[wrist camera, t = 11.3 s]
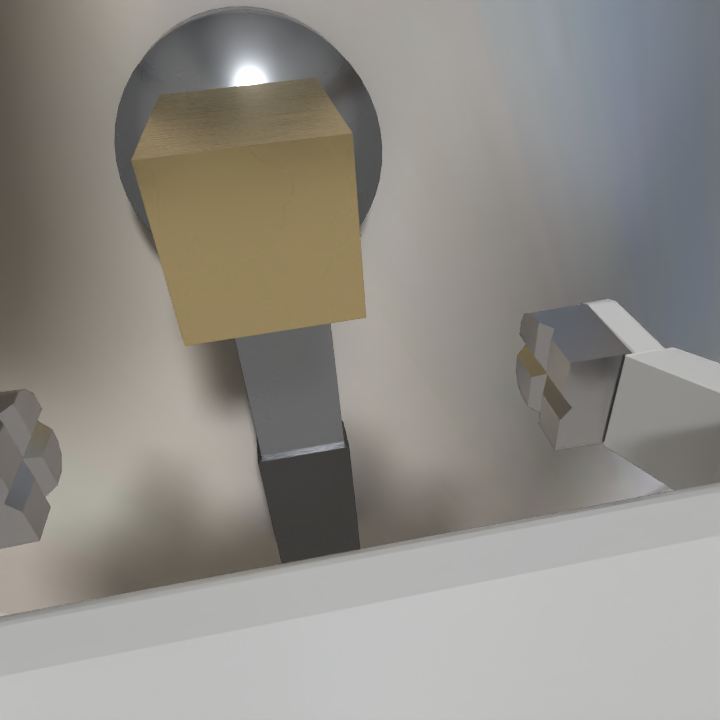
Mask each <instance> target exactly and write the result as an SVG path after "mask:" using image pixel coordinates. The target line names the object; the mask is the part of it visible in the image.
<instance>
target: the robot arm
mask: <svg viewBox="0 0 720 720" xmlns="http://www.w3.org/2000/svg"><path fill="white" fill-rule="evenodd" d="M520 336H521V337H522V339H523V340H524V342H525V343H526V345H525V347H524V348H523V349H522V350H521V352H520V353H519V354H518V355H517V366H516V374H517V380H518V387H519V389H520V392H521V395H522V397H523V399H524V401H525V402H526V404H527V406H528V407H530V408H532V409H534V410H536V411H538V412H540V416H539V425H540V427H541V428H542V430H543V432H544V433H545V435H546V436H547V438H548V440H549V441H550V443H551V444H552V446H553V448H554V449H555V450H560V449H567V448H574V447H580V446H587V445H594V444H600V443H604V446H606V447H607V448H609V449H610V450H612V451H613V452H615V453H617V454H618V455H620V456H621V457H623V458H624V459H626V460H628V461H629V462H631V463H632V464H634V465H635V466H637V467H639V468H640V469H642V470H643V471H645V472H646V473H648V474H650V475H651V476H653V477H654V478H656V479H657V480H659V481H661V482H662V483H664V484H665V485H667V486H668V487H670V488H672V489H673V490H674V491H669V492H664V493H658V494H653V495H648V496H643V497H637V498H632V499H627V500H622V501H616V502H611V503H606V504H601V505H595V506H590V507H585V508H580V509H574V510H569V511H563V512H558V513H552V514H547V515H542V516H536V517H531V518H525V519H520V520H515V521H509V522H504V523H498V524H493V525H487V526H482V527H477V528H471V529H466V530H460V531H455V532H450V533H444V534H439V535H433V536H428V537H422V538H417V539H412V540H406V541H401V542H395V543H390V544H385V545H379V546H374V547H369V548H363V549H358V550H353V551H347V552H342V553H337V554H331V555H326V556H321V557H315V558H310V559H305V560H299V561H294V562H289V563H283V564H278V565H273V566H267V567H262V568H257V569H251V570H246V571H241V572H235V573H230V574H225V575H219V576H214V577H209V578H203V579H198V580H193V581H187V582H182V583H177V584H171V585H166V586H161V587H155V588H150V589H145V590H139V591H134V592H129V593H123V594H118V595H112V596H107V597H102V598H96V599H91V600H86V601H80V602H75V603H70V604H64V605H59V606H54V607H48V608H43V609H37V610H32V611H27V612H21V613H16V614H11V615H5V616H0V720H720V363H717V362H714V361H712V360H709V359H706V358H703V357H700V356H697V355H694V354H692V353H689V352H686V351H683V350H680V349H677V348H675V347H672V348H664V347H663V346H662V345H661V344H660V343H659V342H658V341H657V340H656V339H655V338H653V337H652V336H651V335H650V334H649V333H648V332H647V331H646V330H645V329H644V328H643V327H642V326H641V325H640V324H639V323H638V322H637V321H636V320H635V319H634V318H633V317H632V316H631V315H630V314H629V313H628V312H627V311H626V310H625V309H623V308H622V307H621V306H620V305H619V304H618V303H617V302H616V301H614V300H611V299H603V300H598V301H593V302H587V303H582V304H580V305H574V306H568V307H562V308H556V309H550V310H544V311H538V312H532V313H526V314H524V316H523V319H522V321H521V327H520ZM41 410H42V408H41V406H40V404H39V402H38V401H37V399H36V397H35V395H34V394H33V393H32V392H30V391H28V390H26V389H21V390H13V391H6V392H0V549H2V548H7V547H12V546H17V545H22V544H27V543H32V542H37V541H40V539H41V536H42V533H43V530H44V526H45V523H46V520H47V517H48V514H49V511H50V508H51V507H50V505H49V503H48V501H47V499H46V496H47V495H48V494H49V493H50V492H51V491H52V490H53V489H54V488H55V487H56V486H58V482H59V479H60V475H61V472H62V454H61V450H60V447H59V443H58V440H57V438H56V436H55V434H54V432H53V430H52V429H51V428H49V427H47V426H46V425H44V424H42V423H40V422H39V421H37V420H38V418H39V415H40V413H41Z"/></svg>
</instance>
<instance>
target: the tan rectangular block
mask: <svg viewBox="0 0 720 720" xmlns="http://www.w3.org/2000/svg"><path fill="white" fill-rule="evenodd" d="M131 161H132V165H133V168H134V172H135V175H136V179H137V182H138V186H139V189H140V193H141V196H142V199H143V203H144V206H145V210H146V213H147V217H148V220H149V224H150V227H151V231H152V234H153V237H154V241H155V244H156V248H157V251H158V255H159V258H160V262H161V265H162V269H163V272H164V276H165V279H166V282H167V286H168V289H169V293H170V296H171V300H172V303H173V307H174V310H175V314H176V317H177V320H178V324H179V327H180V331H181V334H182V338H183V341H184V345H185V346H188V345H194V344H201V343H207V342H214V341H220V340H226V339H233V338H239V337H246V336H252V335H258V334H265V333H271V332H278V331H284V330H290V329H297V328H303V327H310V326H316V325H322V324H329V323H335V322H342V321H348V320H354V319H361V318H366V308H365V295H364V281H363V267H362V254H361V240H360V227H359V213H358V199H357V186H356V172H355V158H354V145H353V133H352V131H351V130H350V128H349V127H348V125H347V124H346V122H345V121H344V119H343V118H342V116H341V115H340V113H339V112H338V110H337V109H336V107H335V106H334V104H333V103H332V101H331V100H330V98H329V97H328V95H327V94H326V92H325V91H324V89H323V88H322V86H321V85H320V83H319V82H318V80H317V79H316V78H307V79H298V80H289V81H280V82H271V83H262V84H253V85H244V86H235V87H226V88H217V89H208V90H199V91H190V92H181V93H172V94H163V95H159V96H158V99H157V101H156V103H155V106H154V108H153V110H152V113H151V115H150V117H149V120H148V122H147V124H146V127H145V129H144V131H143V134H142V136H141V138H140V141H139V143H138V145H137V148H136V150H135V152H134V155H133V157H132V159H131Z"/></svg>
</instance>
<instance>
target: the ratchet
mask: <svg viewBox="0 0 720 720" xmlns="http://www.w3.org/2000/svg"><path fill="white" fill-rule="evenodd" d="M307 78H316V79H317V80H318V82H319V83H320V85H321V86H322V88H323V89H324V91H325V92H326V94H327V95H328V97H329V98H330V100H331V101H332V103H333V104H334V106H335V107H336V109H337V110H338V112H339V113H340V115H341V116H342V118H343V119H344V121H345V122H346V124H347V125H348V127H349V128H350V130H351V131H352V133H353V145H354V158H355V172H356V186H357V199H358V213H359V226H360V225H361V223H362V221H363V220H364V218H365V216H366V214H367V213H368V211H369V209H370V207H371V204H372V202H373V199H374V197H375V194H376V190H377V187H378V183H379V179H380V172H381V165H382V141H381V132H380V127H379V122H378V118H377V114H376V111H375V108H374V106H373V103H372V100H371V98H370V95H369V93H368V92H367V90H366V88H365V86H364V84H363V82H362V80H361V79H360V77H359V76H358V74H357V73H356V72H355V70H354V69H353V67H352V66H351V65H350V63H349V62H348V61H347V60H346V59H345V58H344V57H343V56H342V55H341V54H340V53H339V52H338V51H337V50H336V49H335V48H334V47H333V46H332V45H331V44H330V43H329V42H328V41H327V40H326V39H325V38H324V37H322V36H321V35H320V34H319V33H317V32H316V31H315V30H313V29H312V28H310V27H309V26H307V25H305V24H304V23H302V22H300V21H298V20H296V19H294V18H292V17H289V16H287V15H285V14H282V13H279V12H275V11H272V10H268V9H264V8H256V7H248V6H239V7H224V8H218V9H213V10H209V11H206V12H203V13H200V14H197V15H194V16H192V17H190V18H188V19H186V20H184V21H182V22H180V23H179V24H177V25H176V26H174V27H173V28H172V29H170V30H169V31H168V32H166V33H165V34H164V35H163V36H162V37H161V38H160V39H159V40H158V41H157V42H156V43H155V44H154V45H153V46H152V47H151V48H150V49H149V51H148V52H147V53H146V55H145V56H144V57H143V59H142V60H141V62H140V63H139V64H138V66H137V67H136V68H135V70H134V71H133V73H132V75H131V77H130V79H129V81H128V83H127V85H126V87H125V89H124V92H123V95H122V98H121V101H120V104H119V107H118V113H117V118H116V124H115V152H116V162H117V166H118V170H119V174H120V179H121V181H122V184H123V187H124V189H125V192H126V195H127V197H128V199H129V201H130V202H131V204H132V206H133V208H134V210H135V212H136V213H137V215H138V216H139V218H140V219H141V220H142V222H143V223H144V225H145V226H146V227H147V228H148V229H149V231H150V232H151V233H152V231H151V227H150V224H149V220H148V217H147V213H146V210H145V206H144V203H143V199H142V196H141V193H140V189H139V186H138V182H137V179H136V175H135V172H134V168H133V165H132V161H131V159H132V157H133V155H134V152H135V150H136V148H137V145H138V143H139V141H140V138H141V136H142V134H143V131H144V129H145V127H146V124H147V122H148V120H149V117H150V115H151V113H152V110H153V108H154V106H155V103H156V101H157V99H158V96H159V95H163V94H172V93H181V92H190V91H199V90H208V89H217V88H226V87H235V86H244V85H253V84H262V83H271V82H280V81H289V80H298V79H307ZM235 342H236V346H237V350H238V355H239V359H240V364H241V368H242V372H243V377H244V381H245V386H246V390H247V394H248V399H249V403H250V408H251V412H252V416H253V421H254V425H255V429H256V434H257V450H258V464H259V468H260V472H261V477H262V481H263V485H264V489H265V494H266V498H267V502H268V506H269V511H270V515H271V519H272V524H273V528H274V532H275V536H276V541H277V545H278V549H279V553H280V558H281V562H282V564H283V563H289V562H294V561H299V560H305V559H310V558H315V557H321V556H326V555H331V554H337V553H342V552H347V551H353V550H358V549H360V543H359V534H358V524H357V515H356V506H355V497H354V487H353V478H352V469H351V460H350V450H349V444H348V440H347V436H346V431H345V427H344V423H343V421H342V419H341V411H340V402H339V393H338V384H337V376H336V367H335V358H334V349H333V341H332V332H331V323H329V324H322V325H316V326H310V327H303V328H297V329H290V330H284V331H278V332H271V333H265V334H258V335H252V336H246V337H239V338H235Z"/></svg>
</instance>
